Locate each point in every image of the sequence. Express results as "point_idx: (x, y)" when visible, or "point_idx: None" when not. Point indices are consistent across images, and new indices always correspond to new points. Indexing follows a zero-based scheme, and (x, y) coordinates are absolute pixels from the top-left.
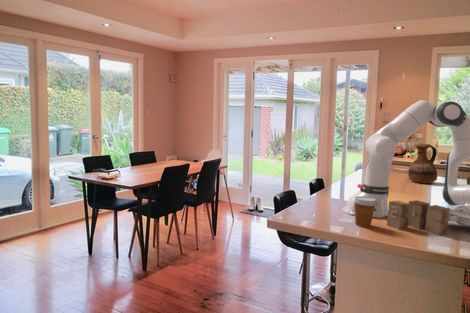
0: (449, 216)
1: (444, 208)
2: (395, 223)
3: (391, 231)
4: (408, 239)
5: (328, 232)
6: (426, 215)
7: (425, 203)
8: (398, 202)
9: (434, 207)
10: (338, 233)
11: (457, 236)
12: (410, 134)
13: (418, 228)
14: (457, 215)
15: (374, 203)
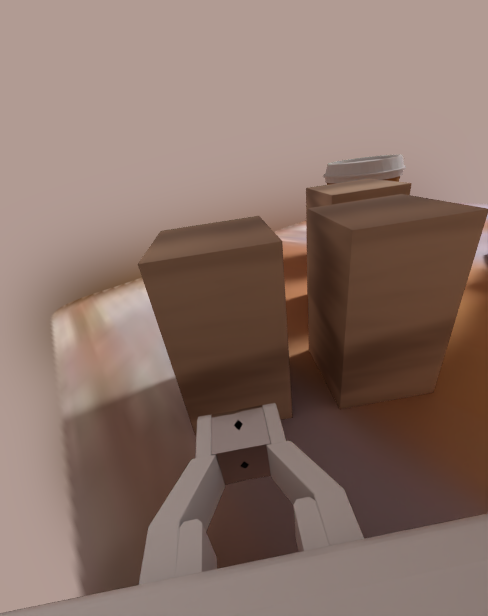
0: (220, 430)
1: (166, 245)
2: None
3: (289, 276)
4: None
5: (298, 223)
6: (334, 320)
7: (343, 218)
8: (351, 185)
9: (218, 224)
10: (290, 228)
11: (124, 460)
12: None
13: (309, 347)
14: (160, 578)
15: (331, 175)
